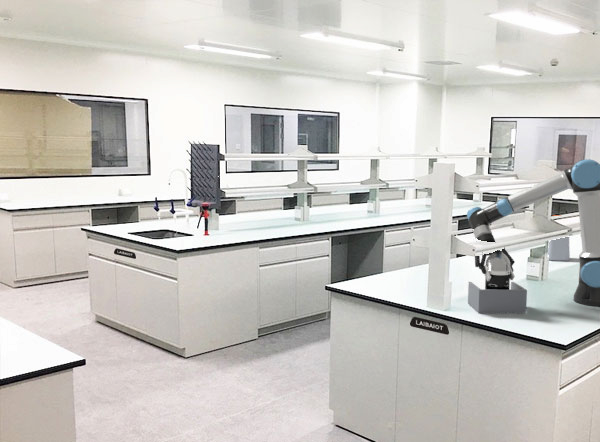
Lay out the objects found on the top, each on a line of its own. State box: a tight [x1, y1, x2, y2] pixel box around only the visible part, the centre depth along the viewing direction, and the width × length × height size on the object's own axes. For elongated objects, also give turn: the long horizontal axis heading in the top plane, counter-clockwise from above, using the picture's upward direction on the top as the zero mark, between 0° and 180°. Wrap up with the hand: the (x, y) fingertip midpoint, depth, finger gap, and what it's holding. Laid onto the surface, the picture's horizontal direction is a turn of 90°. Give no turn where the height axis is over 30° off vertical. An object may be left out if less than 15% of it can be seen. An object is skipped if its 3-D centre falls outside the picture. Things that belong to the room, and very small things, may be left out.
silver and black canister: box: [484, 250, 511, 289], centre depth 243 cm, size 10×10×25 cm
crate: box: [467, 281, 528, 314], centre depth 244 cm, size 20×16×10 cm
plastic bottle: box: [548, 214, 571, 262], centre depth 358 cm, size 15×15×28 cm
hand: (501, 279), depth 240 cm, fingers closed on silver and black canister, 10 cm apart
